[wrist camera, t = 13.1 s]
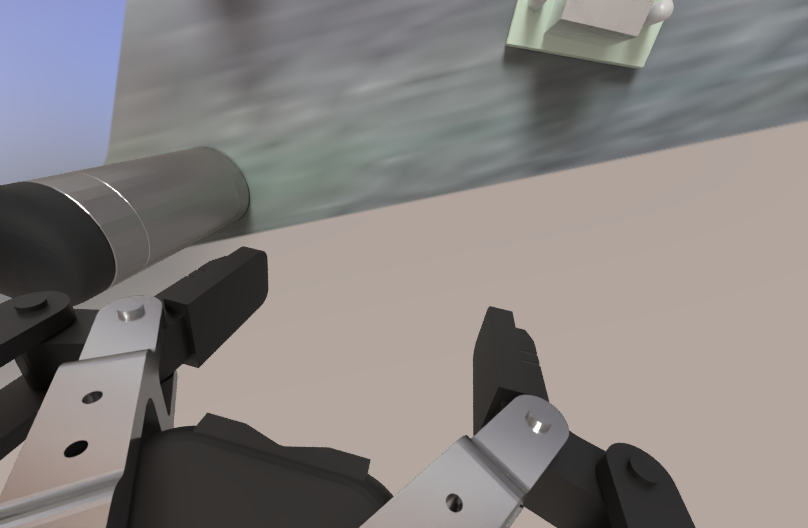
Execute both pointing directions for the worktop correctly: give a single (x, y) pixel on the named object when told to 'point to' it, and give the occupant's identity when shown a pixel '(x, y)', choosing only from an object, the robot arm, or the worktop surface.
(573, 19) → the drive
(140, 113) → the worktop surface
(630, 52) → the pale green pegged board
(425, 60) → the worktop surface
